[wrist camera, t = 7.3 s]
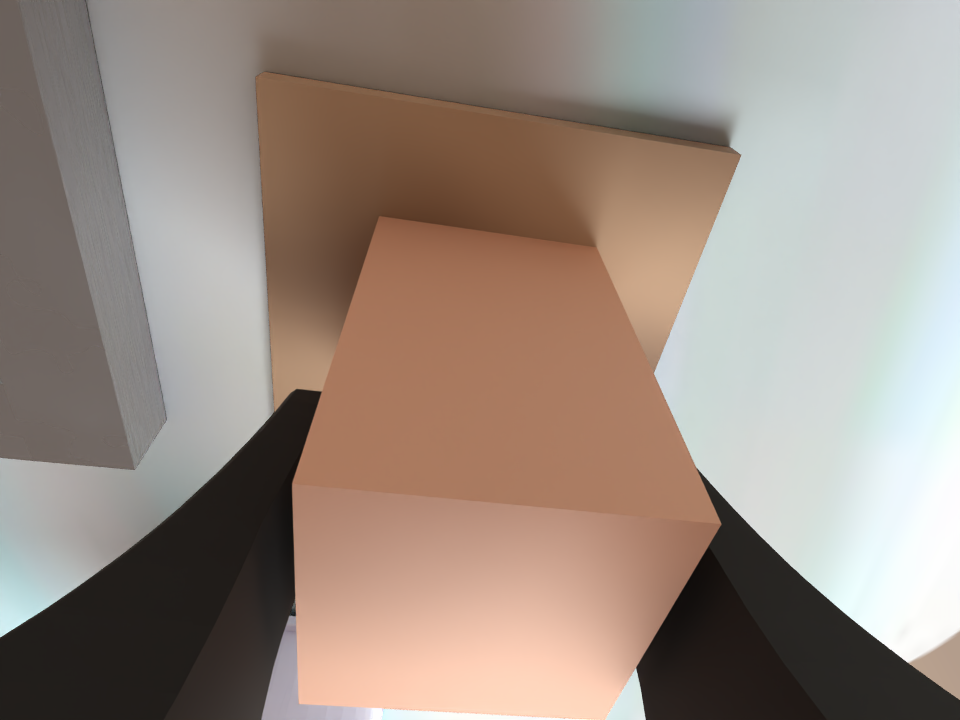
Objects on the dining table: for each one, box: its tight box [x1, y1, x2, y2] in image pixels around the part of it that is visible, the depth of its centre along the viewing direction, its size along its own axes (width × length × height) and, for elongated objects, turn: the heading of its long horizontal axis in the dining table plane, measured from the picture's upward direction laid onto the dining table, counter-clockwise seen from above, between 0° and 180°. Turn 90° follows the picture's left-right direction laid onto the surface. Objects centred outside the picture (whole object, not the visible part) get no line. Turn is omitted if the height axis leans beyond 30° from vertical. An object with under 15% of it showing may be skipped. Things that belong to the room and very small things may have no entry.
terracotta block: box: [292, 216, 721, 720], centre depth 11 cm, size 5×5×8 cm
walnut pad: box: [255, 72, 741, 412], centre depth 15 cm, size 10×10×1 cm
